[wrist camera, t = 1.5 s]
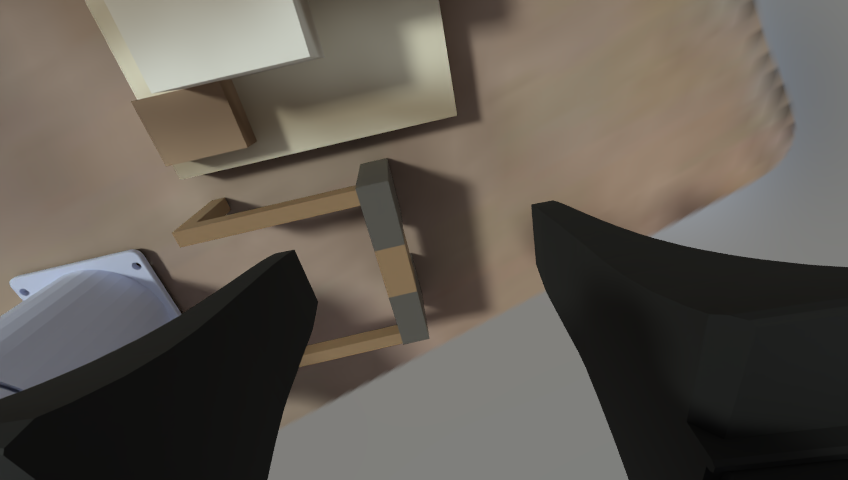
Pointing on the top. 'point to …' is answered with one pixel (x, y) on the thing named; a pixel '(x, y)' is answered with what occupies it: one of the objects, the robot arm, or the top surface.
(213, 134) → the stand
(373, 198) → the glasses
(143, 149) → the top surface
